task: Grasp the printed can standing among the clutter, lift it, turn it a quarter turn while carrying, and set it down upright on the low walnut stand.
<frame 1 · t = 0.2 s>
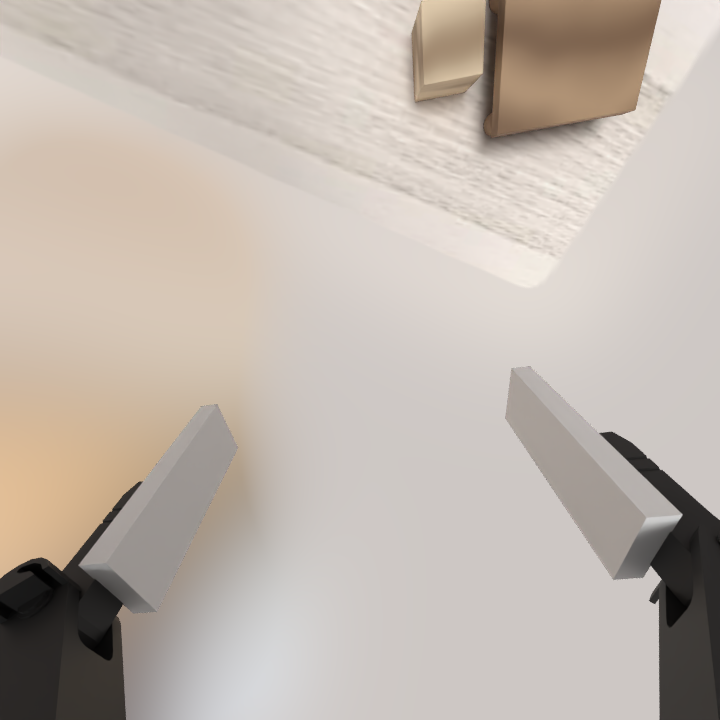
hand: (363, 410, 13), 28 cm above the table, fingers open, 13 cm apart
oak block: (438, 64, 28), on the table
stand: (544, 56, 28), on the table
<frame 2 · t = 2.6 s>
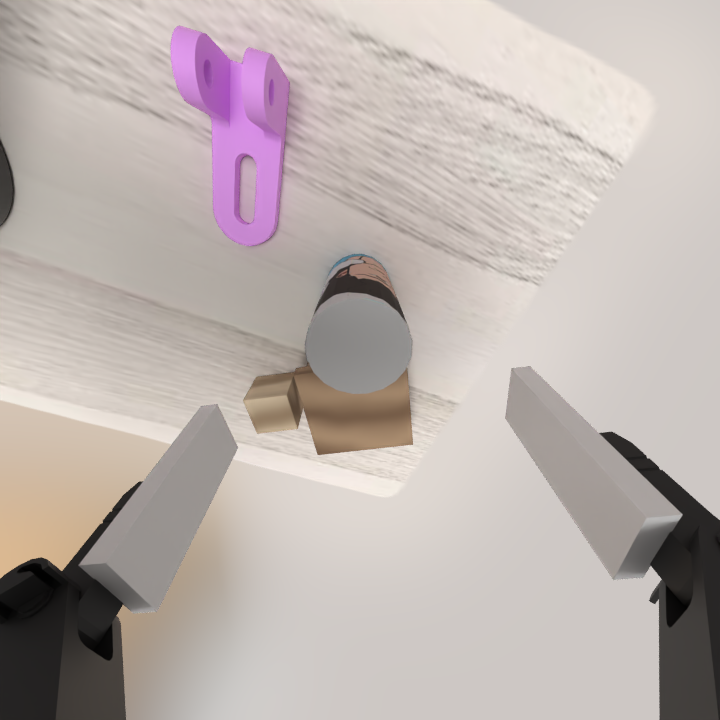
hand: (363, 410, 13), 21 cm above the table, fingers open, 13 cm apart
oak block: (281, 390, 38), on the table
printed can: (358, 286, 31), on the table
bracket: (251, 168, 26), on the table
stand: (357, 387, 38), on the table
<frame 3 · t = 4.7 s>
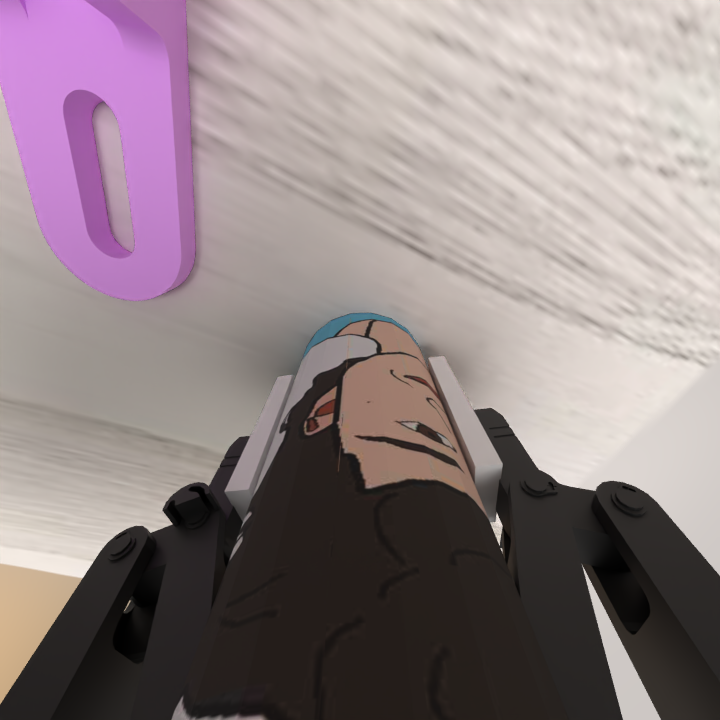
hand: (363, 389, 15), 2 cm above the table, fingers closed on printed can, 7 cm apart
printed can: (362, 367, 17), on the table, touching gripper
bracket: (124, 133, 12), on the table
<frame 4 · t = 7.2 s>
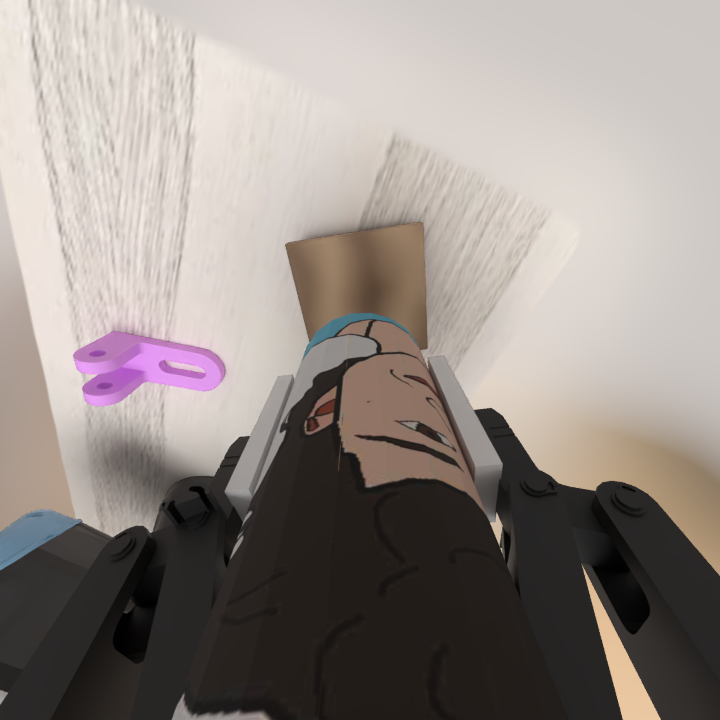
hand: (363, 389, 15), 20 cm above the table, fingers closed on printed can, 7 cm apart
printed can: (362, 367, 17), point 18 cm above the table, touching gripper
bracket: (173, 360, 37), on the table
stand: (362, 287, 32), on the table
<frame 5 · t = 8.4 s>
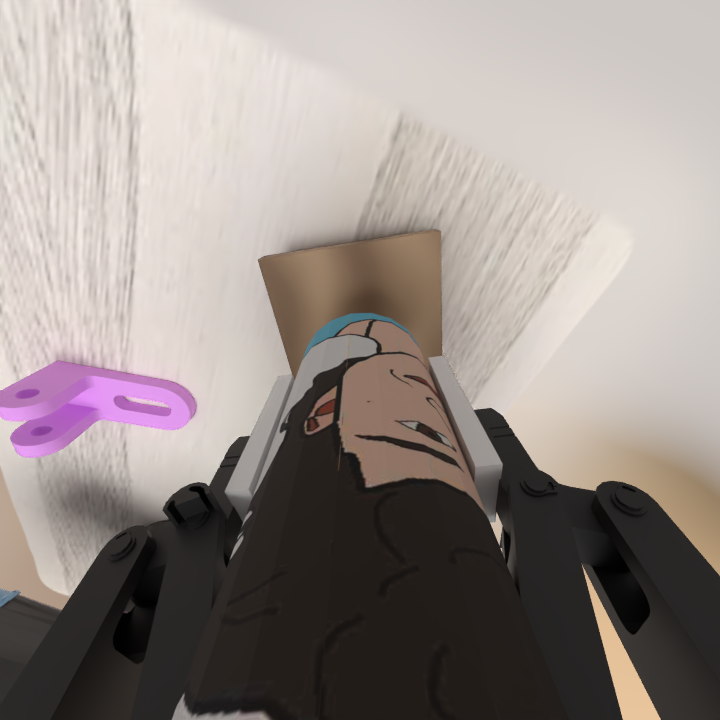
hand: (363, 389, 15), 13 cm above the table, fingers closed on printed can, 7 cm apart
printed can: (362, 367, 17), point 11 cm above the table, touching gripper
bracket: (133, 393, 31), on the table
stand: (360, 308, 26), on the table
when the fingers open (8 cm above the table, at t = 9.6 s): printed can drops 1 cm, resting on stand.
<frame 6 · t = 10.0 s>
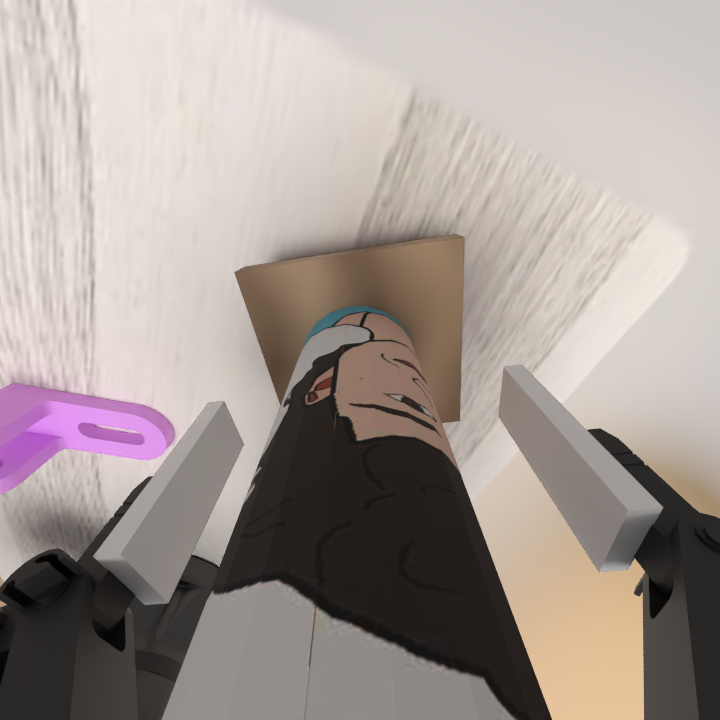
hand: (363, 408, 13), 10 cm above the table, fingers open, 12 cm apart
printed can: (358, 357, 18), point 5 cm above the table, touching stand
bracket: (103, 418, 27), on the table
stand: (362, 326, 22), on the table
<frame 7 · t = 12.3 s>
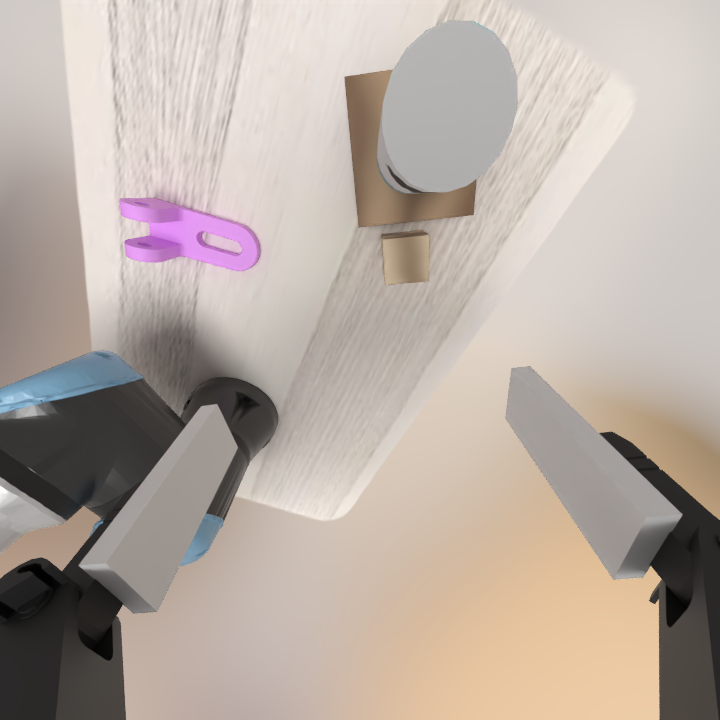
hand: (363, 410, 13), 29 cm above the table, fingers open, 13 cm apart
oak block: (402, 253, 37), on the table
printed can: (411, 153, 28), point 5 cm above the table, touching stand
bracket: (210, 237, 37), on the table
stand: (408, 157, 32), on the table
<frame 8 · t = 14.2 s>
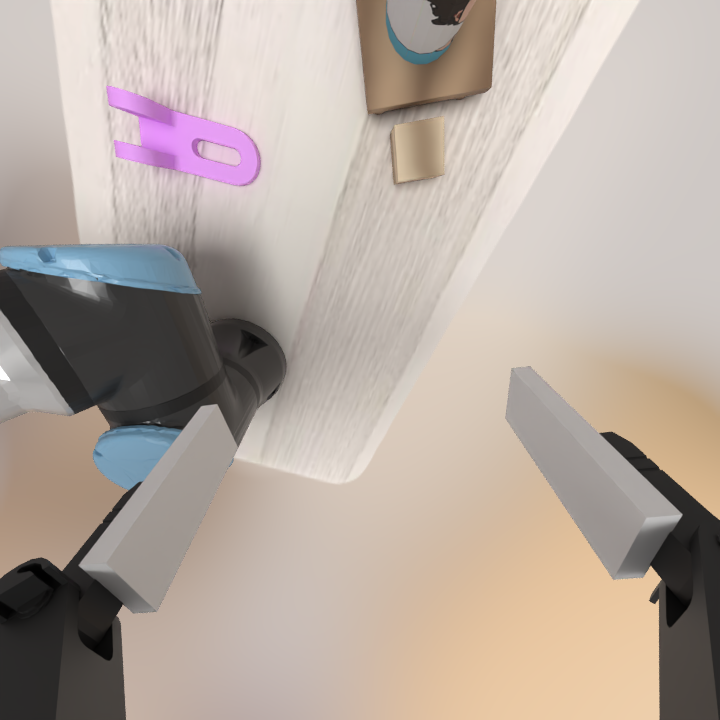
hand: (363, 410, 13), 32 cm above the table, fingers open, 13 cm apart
oak block: (412, 156, 35), on the table
printed can: (423, 14, 26), point 5 cm above the table, touching stand
bracket: (206, 150, 35), on the table
stand: (417, 38, 30), on the table
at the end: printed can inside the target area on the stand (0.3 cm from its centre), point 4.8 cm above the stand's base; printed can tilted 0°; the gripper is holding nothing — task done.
